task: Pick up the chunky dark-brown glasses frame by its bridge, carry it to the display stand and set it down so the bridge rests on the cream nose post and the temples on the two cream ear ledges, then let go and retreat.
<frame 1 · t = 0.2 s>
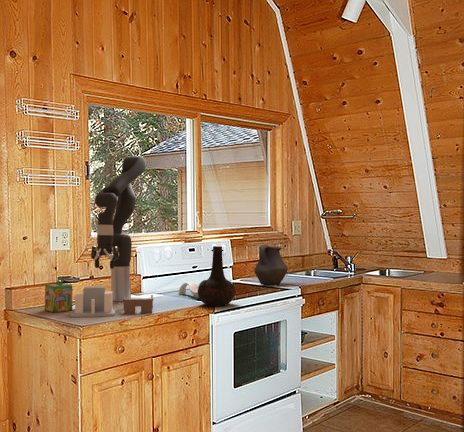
hand: (104, 268, 269), 17 cm above the countertop, tool pointing down, fingers open, 8 cm apart
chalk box: (58, 311, 253), on the countertop
spoon rest: (195, 297, 296), on the countertop
glass bottle: (216, 305, 268), on the countertop
display stand: (94, 313, 244), on the countertop
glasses: (138, 312, 246), on the countertop
pitcher: (270, 285, 343), on the countertop
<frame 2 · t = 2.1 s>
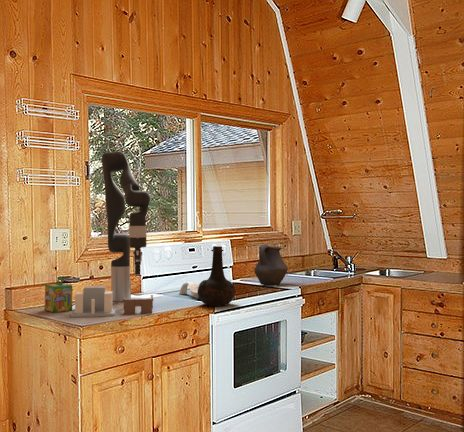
hand: (137, 273, 246), 17 cm above the countertop, tool pointing down, fingers open, 8 cm apart
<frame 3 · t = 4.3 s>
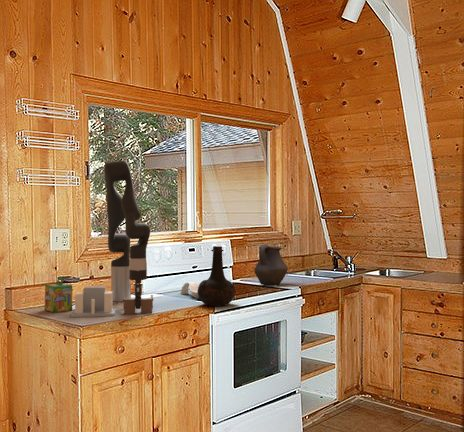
hand: (138, 308, 246), 2 cm above the countertop, tool pointing down, fingers closed on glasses, 2 cm apart
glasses: (138, 312, 246), on the countertop, touching gripper
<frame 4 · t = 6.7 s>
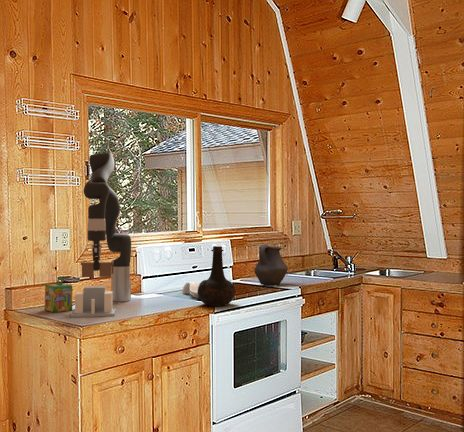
hand: (96, 270, 239), 19 cm above the countertop, tool pointing down, fingers closed on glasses, 2 cm apart
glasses: (96, 276, 239), point 17 cm above the countertop, touching gripper
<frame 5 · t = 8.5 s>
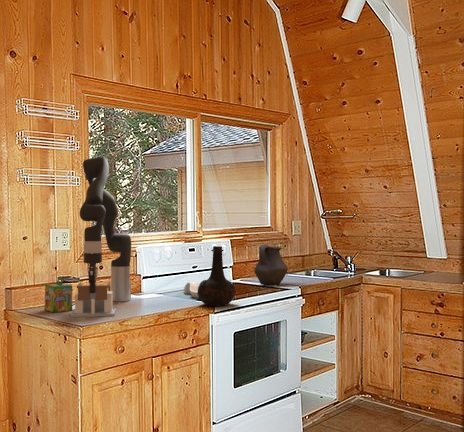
hand: (92, 292, 238), 10 cm above the countertop, tool pointing down, fingers closed on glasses, 2 cm apart
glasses: (92, 299, 238), point 7 cm above the countertop, touching gripper
when the fingers open (7 cm above the countertop, at t = 9.4 s): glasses stays where it is, resting on display stand.
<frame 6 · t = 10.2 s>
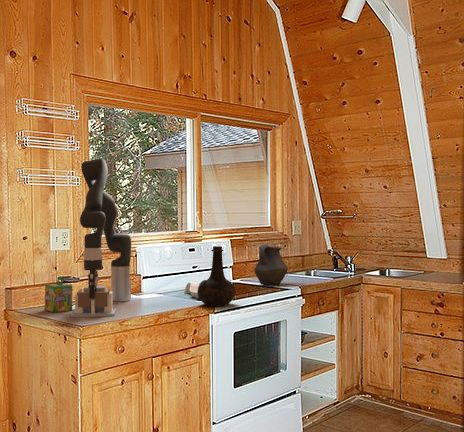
hand: (93, 296, 239), 8 cm above the countertop, tool pointing down, fingers open, 8 cm apart
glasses: (92, 306, 239), point 4 cm above the countertop, touching display stand
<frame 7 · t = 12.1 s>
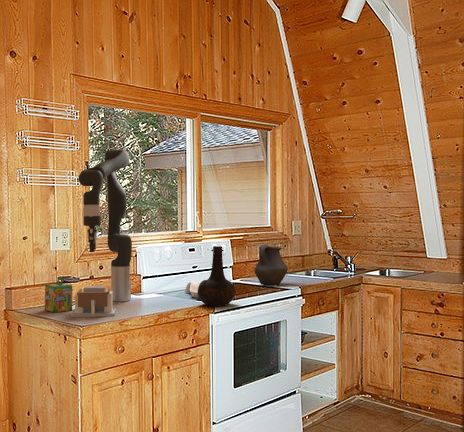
hand: (92, 251, 253), 27 cm above the countertop, tool pointing down, fingers open, 8 cm apart
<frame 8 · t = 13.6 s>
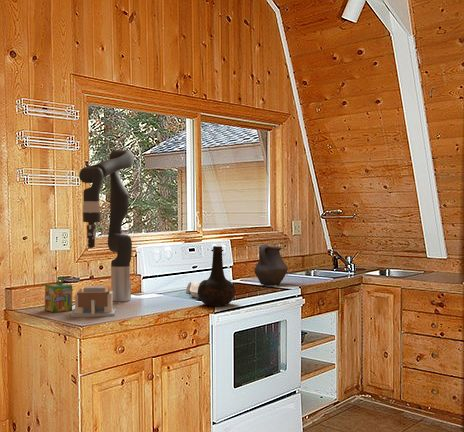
hand: (91, 247, 255), 28 cm above the countertop, tool pointing down, fingers open, 8 cm apart
at the end: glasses 0.1 cm from the target spot, point 4.0 cm above the countertop; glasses tilted 0°; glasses touching display stand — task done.
